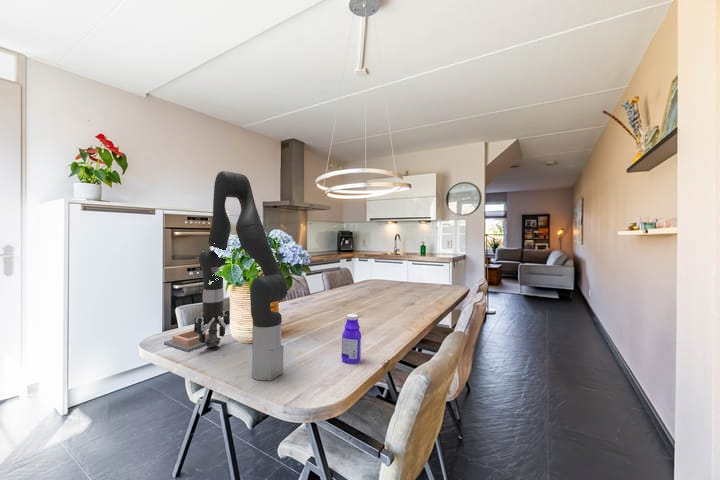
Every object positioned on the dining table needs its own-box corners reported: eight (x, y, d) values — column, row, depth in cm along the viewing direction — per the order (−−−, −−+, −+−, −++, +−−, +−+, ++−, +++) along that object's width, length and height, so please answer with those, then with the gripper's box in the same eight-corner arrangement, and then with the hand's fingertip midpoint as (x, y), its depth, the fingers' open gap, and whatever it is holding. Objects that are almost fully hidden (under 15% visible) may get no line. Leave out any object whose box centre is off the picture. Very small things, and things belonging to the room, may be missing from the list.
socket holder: (219, 340, 125) (219, 332, 125) (187, 352, 113) (188, 343, 113) (195, 334, 132) (196, 326, 132) (163, 344, 120) (163, 336, 120)
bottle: (362, 359, 110) (363, 314, 110) (358, 365, 105) (359, 318, 105) (344, 356, 113) (345, 312, 112) (339, 362, 107) (340, 316, 107)
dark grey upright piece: (213, 352, 113) (214, 322, 113) (200, 350, 114) (201, 320, 114) (223, 346, 119) (224, 317, 119) (211, 345, 120) (211, 316, 120)
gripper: (202, 304, 108) (202, 347, 109) (234, 297, 121) (233, 335, 121) (190, 301, 112) (189, 343, 112) (222, 295, 124) (221, 332, 125)
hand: (212, 339), depth 117 cm, fingers open, 8 cm apart
